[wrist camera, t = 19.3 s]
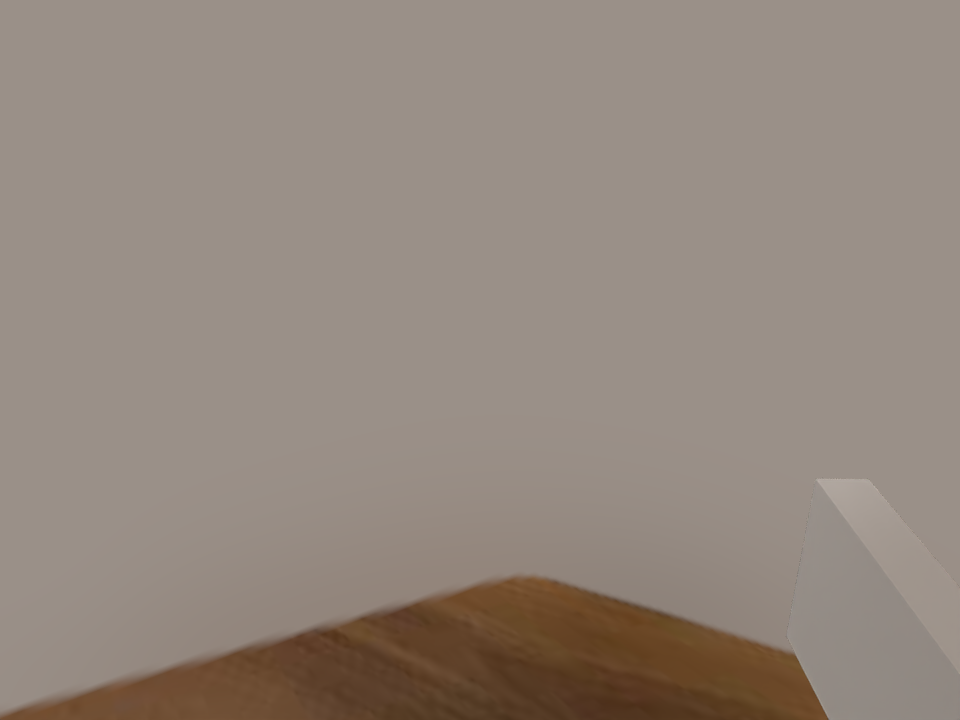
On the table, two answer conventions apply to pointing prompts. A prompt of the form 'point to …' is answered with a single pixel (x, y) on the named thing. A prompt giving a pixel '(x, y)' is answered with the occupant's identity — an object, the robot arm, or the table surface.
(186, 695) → the table surface
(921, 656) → the robot arm
